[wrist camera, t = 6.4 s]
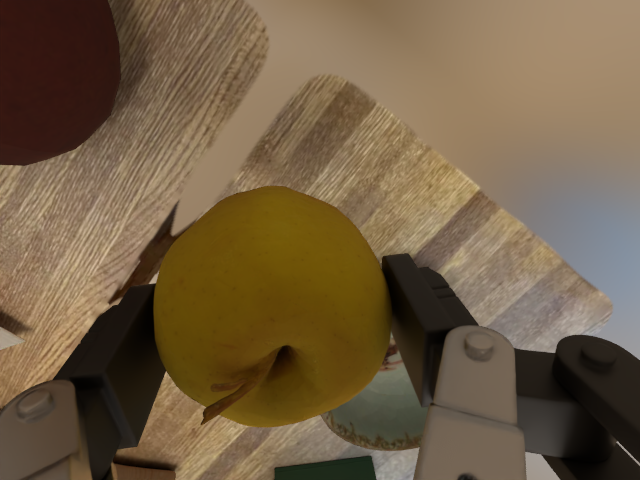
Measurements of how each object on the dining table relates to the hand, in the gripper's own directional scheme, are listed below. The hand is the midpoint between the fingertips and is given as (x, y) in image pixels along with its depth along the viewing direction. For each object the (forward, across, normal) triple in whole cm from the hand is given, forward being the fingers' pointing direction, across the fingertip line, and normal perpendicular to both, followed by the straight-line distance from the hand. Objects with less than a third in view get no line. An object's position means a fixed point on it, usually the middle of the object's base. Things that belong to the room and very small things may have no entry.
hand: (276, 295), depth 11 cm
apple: (+4, 0, 0) cm, 4 cm away
